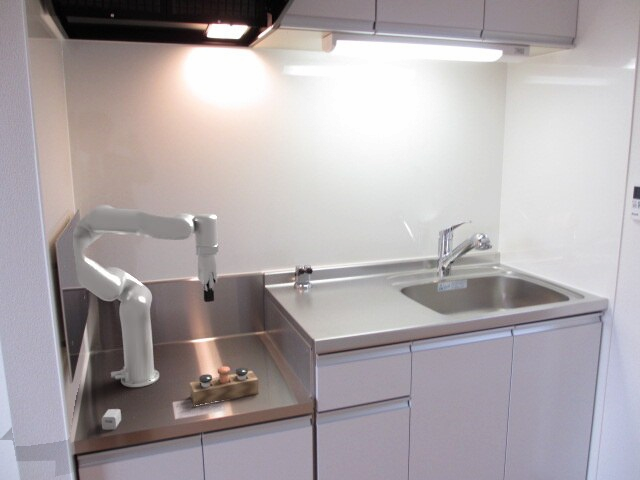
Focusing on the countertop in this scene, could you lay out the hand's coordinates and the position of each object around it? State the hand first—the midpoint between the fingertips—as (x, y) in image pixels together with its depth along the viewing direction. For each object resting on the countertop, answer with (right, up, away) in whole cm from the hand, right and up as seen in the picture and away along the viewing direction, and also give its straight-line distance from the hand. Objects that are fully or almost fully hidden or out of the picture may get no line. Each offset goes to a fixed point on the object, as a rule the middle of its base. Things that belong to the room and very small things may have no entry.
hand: (209, 300), depth 179 cm
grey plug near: (+2, -30, -13) cm, 32 cm away
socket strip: (+7, -30, -10) cm, 32 cm away
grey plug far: (+13, -29, -8) cm, 32 cm away
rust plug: (+7, -28, -11) cm, 31 cm away
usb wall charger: (-23, -33, -27) cm, 48 cm away
